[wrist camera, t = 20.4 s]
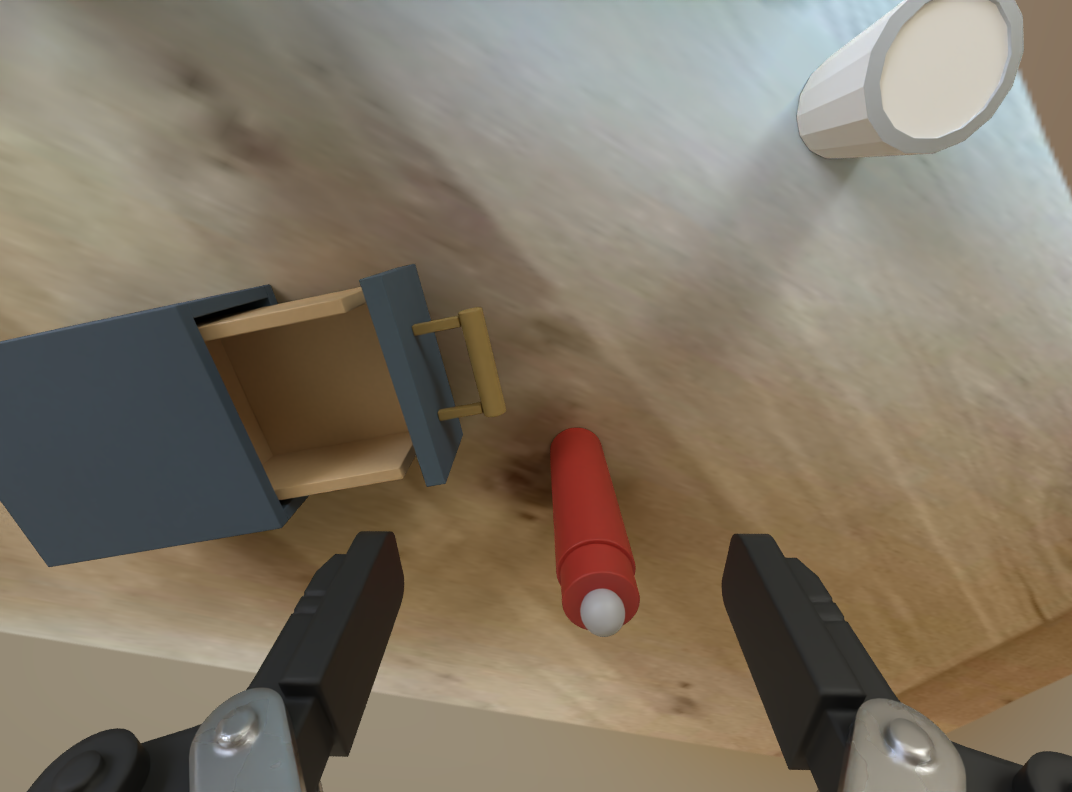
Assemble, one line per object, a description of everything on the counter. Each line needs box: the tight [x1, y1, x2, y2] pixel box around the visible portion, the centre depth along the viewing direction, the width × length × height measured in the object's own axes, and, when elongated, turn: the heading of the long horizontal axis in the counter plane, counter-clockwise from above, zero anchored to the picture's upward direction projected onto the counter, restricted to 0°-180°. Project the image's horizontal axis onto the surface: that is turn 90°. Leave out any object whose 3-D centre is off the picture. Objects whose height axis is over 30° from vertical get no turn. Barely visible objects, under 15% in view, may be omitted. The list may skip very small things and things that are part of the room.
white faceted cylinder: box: [797, 0, 1024, 158], centre depth 23 cm, size 7×7×7 cm
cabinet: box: [0, 284, 309, 567], centre depth 29 cm, size 16×14×9 cm
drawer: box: [195, 264, 506, 500], centre depth 29 cm, size 19×12×7 cm, turn 101°
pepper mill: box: [550, 428, 640, 637], centre depth 27 cm, size 4×4×16 cm
